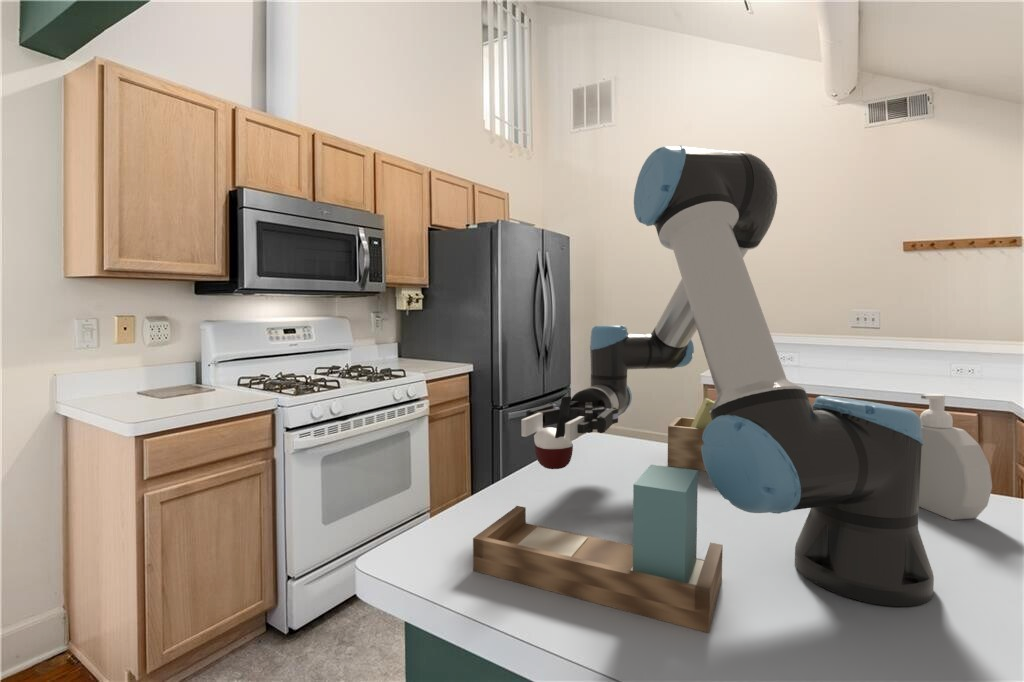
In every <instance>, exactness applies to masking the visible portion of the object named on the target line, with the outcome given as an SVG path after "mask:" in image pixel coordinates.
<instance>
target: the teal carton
mask: <svg viewBox="0 0 1024 682" xmlns="http://www.w3.org/2000/svg"><path fill="white" fill-rule="evenodd" d="M698 477H699V470H694V469H686V468H679V467H671V466H665V465H656V464H649V466H648V467H647V468H646V469H645V471H644V472H643V473H642V474H641V475H640V476H639V478H638V479H636V481H635V482H634V483H633V489H632V492H633V496H632V497H633V498H632V499H633V500H632V501H633V502H632V503H633V504H632V512H633V513H632V516H633V517H632V518H633V519H632V521H633V522H632V545H633V571H636V572H641V573H645V574H650V575H654V576H658V577H663V578H667V579H672V580H676V581H680V582H685V583H689V580H690V577H691V574H692V572H693V569H694V566H695V563H696V558H697V549H698V548H697V546H698V545H697V544H698V543H697V542H698V541H697V540H698V539H697V538H698V533H697V532H698V486H699V485H698V484H699V482H698V481H699V478H698Z"/></svg>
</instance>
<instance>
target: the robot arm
mask: <svg viewBox="0 0 1024 682" xmlns="http://www.w3.org/2000/svg"><path fill="white" fill-rule="evenodd" d="M777 189H778V187H777V182H776V179H775V177H774V174H773V172H772V171H771V168H770V167H769V166H768V165H767V164H766V163H765V162H764V161H763V159H761V158H759V157H758V156H757V155H754V154H752V153H749V152H746V151H737V150H736V151H735V150H734V151H730V150H729V151H728V150H719V149H710V148H700V147H699V148H698V147H689V146H684V145H678V146H661V147H659V148H657V149H655V150H654V151H652V152H651V153H650V154H649V155H648V156H647V158H646V159H645V161H644V162H643V165H642V167H641V168H640V171H639V173H638V176H637V179H636V183H635V188H634V192H633V193H634V194H633V210H634V214H635V218H636V220H637V221H638V223H640V224H643V225H645V226H647V227H651V226H654V227H655V229H656V233H657V236H658V239H659V243H660V244H661V245H662V246H663V247H664V248H666V249H668V250H671V251H673V253H674V256H675V260H676V263H677V266H678V270H679V273H680V276H681V277H680V278H681V279H680V281H679V283H678V285H677V287H676V288H675V290H674V291H673V294H672V296H671V298H670V299H669V302H668V303H667V305H666V306H665V309H664V311H663V312H662V315H660V318H659V320H658V322H657V323H656V325H655V326H654V329H653V331H652V332H651V333H629V332H628V328H627V326H626V325H624V324H623V325H621V324H620V325H619V324H617V325H616V324H615V325H613V324H612V325H610V324H608V325H606V324H605V325H601V324H600V325H595V326H593V327H592V329H591V330H590V331H591V332H590V333H591V334H590V345H589V351H590V352H589V353H590V386H589V387H587V388H585V389H582V390H579V391H578V392H576V393H575V394H574V395H573V396H572V397H571V403H570V408H569V414H568V419H567V423H565V441H569V442H570V441H572V442H573V441H574V440H575V439H577V438H578V437H580V436H581V435H584V434H586V433H589V434H591V433H593V431H594V430H596V431H597V433H598V434H604V433H605V432H606V431H607V430H609V428H610V427H611V426H612V425H613V424H618V423H619V416H621V415H622V414H624V413H625V412H626V411H627V409H628V408H629V407H630V406H631V404H632V399H633V398H632V397H633V396H632V392H631V389H630V387H629V386H628V370H643V369H644V370H645V369H646V370H651V369H655V370H657V369H668V370H669V369H675V368H683V367H686V366H688V365H689V364H690V363H691V362H692V360H693V354H694V352H695V351H694V348H695V347H694V343H693V340H692V339H693V337H694V335H695V333H696V332H697V333H698V335H699V341H700V342H701V346H702V350H703V353H704V356H705V359H706V362H707V366H708V370H709V372H710V376H711V378H712V381H713V385H714V389H715V392H716V395H717V398H716V399H715V400H716V401H715V400H714V401H715V403H714V404H713V406H712V408H711V409H710V415H711V418H712V421H711V422H710V423H709V424H708V425H707V426H706V428H705V430H704V432H703V436H702V440H703V442H704V444H703V445H702V446H701V450H702V458H703V462H704V465H705V468H706V471H705V472H706V473H707V475H708V477H709V480H710V481H711V483H712V485H713V486H714V488H715V490H717V492H718V493H719V494H720V496H722V497H723V498H724V499H725V500H727V501H728V502H729V503H730V504H731V505H732V506H734V507H735V508H736V509H739V510H741V511H743V512H746V513H751V514H766V513H767V514H768V513H769V514H779V515H780V514H782V513H789V512H792V511H797V510H806V509H810V510H809V513H808V514H807V517H806V520H805V522H804V524H803V527H802V529H801V530H800V532H799V533H800V534H799V536H798V538H797V541H796V542H795V546H794V564H795V565H794V566H795V567H796V569H797V570H798V571H799V572H800V574H801V575H803V576H804V577H805V578H807V579H808V581H811V582H812V583H814V584H816V585H818V586H819V587H821V588H823V589H825V590H828V591H830V592H832V593H834V594H838V595H840V596H843V597H846V598H850V599H852V600H856V601H860V602H864V603H868V604H874V605H881V606H889V607H912V606H918V605H922V604H925V603H927V602H929V601H931V599H933V596H934V587H935V585H934V581H935V577H934V572H933V569H932V565H931V563H930V559H929V558H928V554H927V551H926V549H925V545H924V543H923V540H922V537H921V534H920V530H919V510H920V509H919V508H920V507H919V491H920V470H921V449H922V446H923V444H924V442H923V440H922V430H921V420H920V415H918V413H916V412H915V411H913V410H911V409H908V408H905V407H901V406H895V405H892V404H886V403H885V404H884V403H879V402H873V401H867V400H861V399H853V398H846V397H837V396H836V397H835V396H829V395H828V396H826V395H819V396H817V397H815V398H814V402H813V404H812V405H811V403H810V399H809V396H808V394H807V391H806V389H805V388H804V387H802V386H801V385H798V384H796V383H794V382H791V381H790V380H789V379H788V378H787V375H786V373H785V370H784V367H783V365H782V362H781V360H780V357H779V353H778V351H777V348H776V345H775V343H774V341H773V337H772V334H771V333H770V332H771V331H770V329H769V326H768V324H767V320H766V319H765V315H764V313H763V310H762V308H761V304H760V301H759V298H758V297H757V294H756V291H755V287H754V286H753V283H752V279H751V277H750V274H749V271H748V269H747V266H746V262H745V260H744V258H745V255H746V254H747V253H748V251H749V250H753V249H756V248H757V247H759V245H760V244H761V242H762V240H763V239H764V238H765V236H766V235H767V232H768V230H769V229H770V227H771V225H772V222H773V220H774V218H775V215H776V214H775V213H776V210H777V209H776V208H777V205H778V190H777ZM560 406H561V404H560V405H559V406H558V407H557V404H555V403H553V402H549V403H547V404H545V405H542V406H539V407H535V408H532V409H528V410H526V411H525V417H524V418H522V419H520V420H521V422H520V423H521V425H520V426H521V427H520V428H521V437H525V438H526V437H528V436H530V435H532V434H536V432H537V431H539V430H541V429H542V428H544V427H548V426H553V425H555V424H557V423H558V417H559V412H560Z"/></svg>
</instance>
